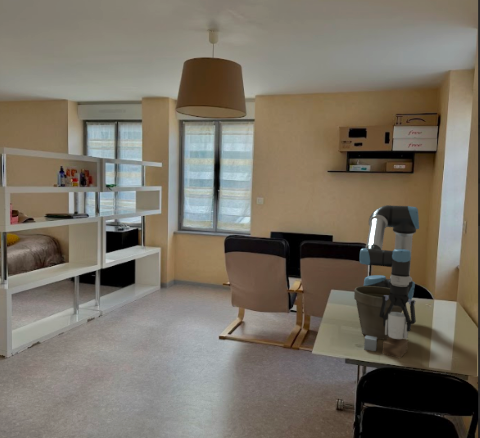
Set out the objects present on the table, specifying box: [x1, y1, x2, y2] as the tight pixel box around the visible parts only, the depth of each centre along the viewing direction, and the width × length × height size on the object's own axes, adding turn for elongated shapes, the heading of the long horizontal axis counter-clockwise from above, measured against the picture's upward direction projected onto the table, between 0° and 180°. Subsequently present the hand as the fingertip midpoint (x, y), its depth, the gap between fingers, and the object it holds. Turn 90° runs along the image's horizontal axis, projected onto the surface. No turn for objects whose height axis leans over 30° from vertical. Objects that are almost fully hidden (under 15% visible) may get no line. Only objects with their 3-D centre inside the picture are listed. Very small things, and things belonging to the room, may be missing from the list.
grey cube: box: [363, 335, 378, 352], centre depth 195 cm, size 5×5×5 cm
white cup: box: [388, 312, 407, 339], centre depth 191 cm, size 8×8×10 cm
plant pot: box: [353, 285, 403, 340], centre depth 215 cm, size 25×25×22 cm
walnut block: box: [382, 337, 409, 359], centre depth 192 cm, size 8×11×5 cm
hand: (396, 336), depth 192 cm, fingers closed on white cup, 8 cm apart
